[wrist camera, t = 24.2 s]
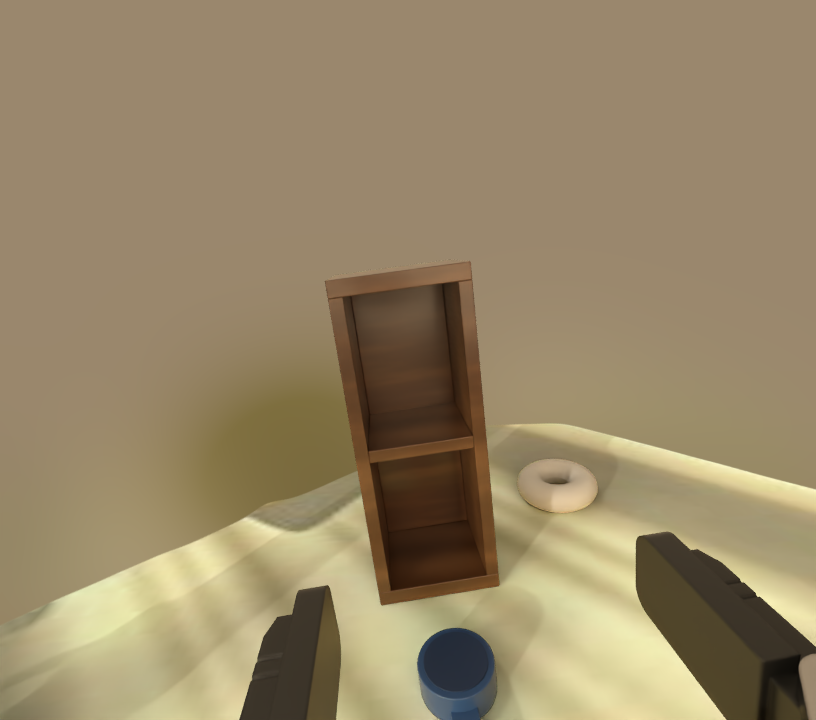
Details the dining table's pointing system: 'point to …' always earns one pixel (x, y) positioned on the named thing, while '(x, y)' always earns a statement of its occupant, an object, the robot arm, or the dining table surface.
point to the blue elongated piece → (457, 675)
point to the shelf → (417, 425)
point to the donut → (563, 498)
